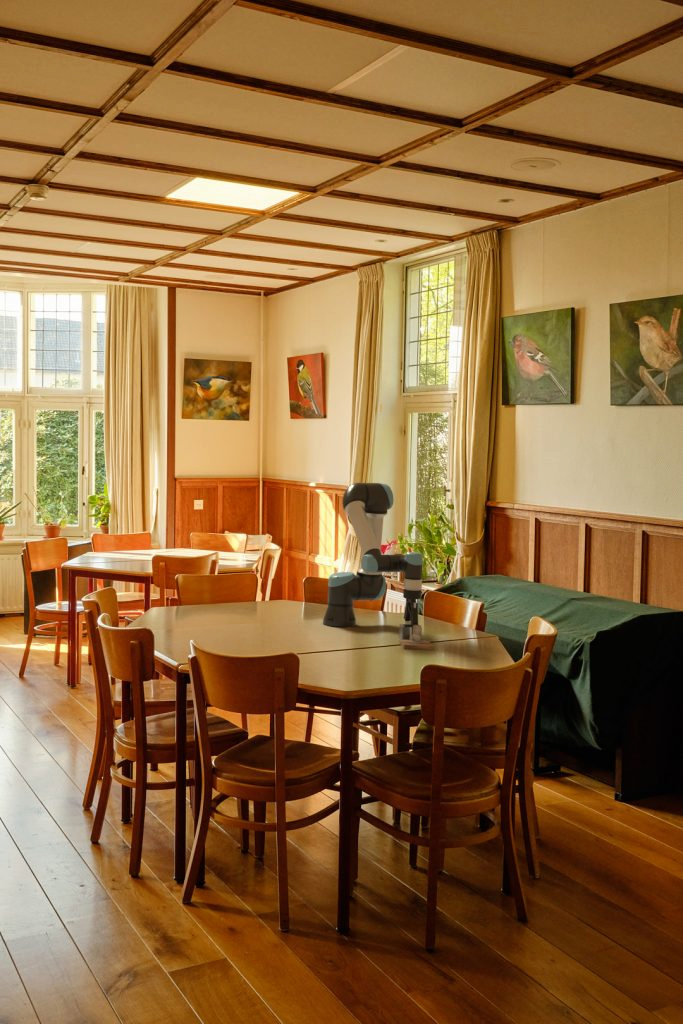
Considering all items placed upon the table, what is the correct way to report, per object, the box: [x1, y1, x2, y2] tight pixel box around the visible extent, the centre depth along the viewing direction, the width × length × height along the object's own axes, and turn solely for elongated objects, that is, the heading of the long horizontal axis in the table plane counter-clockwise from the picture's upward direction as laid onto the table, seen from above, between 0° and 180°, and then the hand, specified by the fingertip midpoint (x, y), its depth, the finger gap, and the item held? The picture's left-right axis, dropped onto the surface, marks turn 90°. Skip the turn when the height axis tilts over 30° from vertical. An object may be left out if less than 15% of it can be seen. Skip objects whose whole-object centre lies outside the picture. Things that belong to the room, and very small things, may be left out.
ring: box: [398, 623, 423, 640], centre depth 422 cm, size 8×8×6 cm
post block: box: [398, 624, 435, 651], centre depth 408 cm, size 12×12×9 cm
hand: (410, 639), depth 423 cm, fingers open, 12 cm apart
